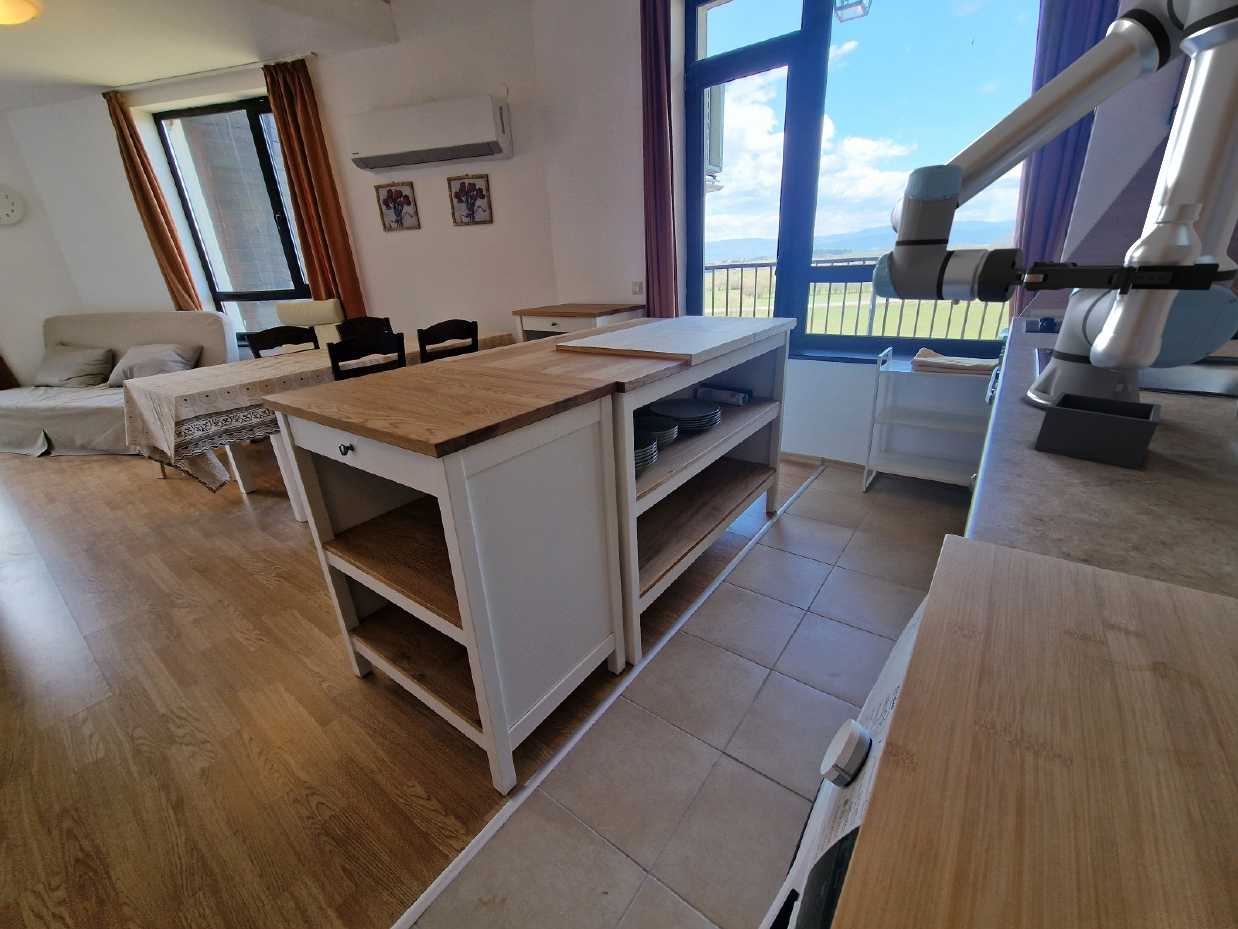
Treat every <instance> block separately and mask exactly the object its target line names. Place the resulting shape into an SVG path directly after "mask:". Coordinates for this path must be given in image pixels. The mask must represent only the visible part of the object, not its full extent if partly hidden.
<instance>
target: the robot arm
mask: <svg viewBox="0 0 1238 929" xmlns="http://www.w3.org/2000/svg"><path fill="white" fill-rule="evenodd" d="M1184 54H1186V55H1188V56H1189V57H1190V59H1191V61H1190V64H1189V68H1188V70H1187V74H1186V78H1185V81H1184V86H1183V89H1182V92H1181V96H1180V100H1179V102H1178V106H1177V110H1176V114H1175V116H1174V121H1173V124H1172V128H1171V131H1170V134H1169V139H1168V142H1167V146H1166V148H1165V152H1164V155H1163V160H1162V163H1161V166H1160V170H1159V174H1158V176H1157V180H1156V184H1155V188H1154V190H1153V195H1152V198H1151V202H1150V206H1149V208H1148V212H1147V216H1146V219H1145V221H1144V222H1145V223H1144V225H1143V229H1142V233H1141V237H1142V236H1144V235H1145V234H1146V233H1147V232H1149V231H1150V230H1151V229H1152V228H1153V226H1154V225H1155V222H1152V220H1153V219H1154V218H1155V215H1156V212H1157V209H1158V208H1159V206H1165V205H1178V204H1197V203H1203V204H1202V208H1201V211H1200V213H1199V219H1198V220H1195V221H1194V222H1193V228H1194V230H1195V231H1196V233H1197V235H1198V236H1199V239H1200V241H1201V244H1202V249H1201V254H1200V256H1199V258H1198V260H1196V262H1195V265H1166V266H1139V267H1138V270H1137V267H1134V266H1128V267H1125V266H1124V264H1084V265H1083V264H1081V265H1079V264H1077V263H1076V262H1074V261H1068V262H1067V261H1066V262H1062V261H1061V262H1060V261H1059V262H1054V261H1053V260H1037V261H1033V263H1032V264H1033V265H1032V266H1024V265H1023V263H1024V260H1025V252H1024V250H1023V249H1022V248H1020V247H1013V248H1011V247H1010V248H994V249H993V250H991V251H989V250H988V249H987V248H965V249H962V248H961V249H952V250H948V245H949V242H950V235H951V231H952V227H953V222H954V218H955V215H956V214H955V213H956V210H958V209H959V208H961V207H962V206H963V205H965V204H966V203H968V201H970V200H971V199H973V198H974V197H976V196H977V195H978V194H980V193H981V192H983V191H984V190H985V189H987V188H988V187H989V186H991V185H992V184H993V183H995V182H996V181H997V180H998V179H1000V178H1001V177H1002V176H1004V175H1006V174H1007V173H1008V172H1010V171H1011V170H1013V169H1014V168H1015V167H1017V166H1019V164H1021V163H1022V162H1023V161H1025V160H1026V159H1028V158H1029V157H1030V156H1032V155H1033V154H1035V153H1036V152H1037V151H1039V150H1040V149H1041V148H1043V147H1045V145H1047V144H1048V143H1050V142H1051V141H1052V140H1054V139H1055V138H1056V137H1058V136H1059V135H1060V134H1062V133H1063V132H1064V131H1066V130H1067V129H1069V128H1070V127H1071V126H1073V125H1074V124H1076V123H1077V122H1079V120H1081V119H1082V118H1084V117H1085V116H1086V115H1088V114H1089V113H1091V112H1092V111H1093V110H1095V109H1096V108H1098V107H1099V106H1101V105H1102V104H1103V103H1104V102H1106V101H1107V100H1108V99H1110V98H1111V97H1112V96H1114V95H1115V94H1116V93H1118V92H1120V91H1121V90H1122V89H1124V88H1125V87H1127V86H1128V85H1129V84H1130V83H1132V82H1133V81H1136V80H1146V79H1148V78H1151V76H1153V75H1154V74H1155V73H1157V72H1158V71H1160V70H1161V69H1162V68H1164V67H1165V66H1166V65H1168V64H1170V63H1171V62H1173V61H1174V60H1176V59H1178V58H1179V57H1181V56H1182V55H1184ZM1237 222H1238V0H1138V1H1137V2H1136V3H1135V4H1134V5H1133V6H1132V7H1130V9H1128V10H1127V11H1126V12H1125V13H1123V14H1122V15H1120V16H1119V17H1118V18H1117V19H1115V20H1114V21H1113V22H1112V23H1111V24H1110V25H1109V27H1108V29H1107V31H1106V35H1105V37H1104V38H1103V39H1102V40H1100V41H1099V42H1098V43H1097V44H1095V45H1094V46H1093V47H1091V48H1090V49H1089V50H1088V51H1086V52H1085V53H1084V54H1083V55H1081V56H1080V57H1078V59H1076V60H1075V61H1074V62H1073V63H1071V64H1070V65H1069V66H1067V67H1066V68H1065V69H1063V70H1062V71H1061V72H1060V73H1059V74H1057V75H1056V76H1054V78H1052V79H1051V80H1050V81H1049V82H1047V83H1046V84H1044V85H1043V86H1041V88H1040V89H1038V90H1037V91H1036V92H1035V93H1034V94H1032V95H1031V96H1029V97H1028V98H1027V99H1026V100H1024V101H1023V102H1022V103H1021V104H1019V105H1018V106H1017V107H1016V108H1014V109H1013V110H1012V111H1011V112H1009V113H1008V114H1007V115H1005V116H1004V117H1003V118H1002V119H1001V120H999V121H998V122H996V123H995V124H994V125H993V126H992V127H990V128H989V129H987V131H986V132H983V134H981V135H980V136H979V137H978V138H976V139H975V140H974V141H973V142H971V143H970V144H969V145H967V146H966V147H965V148H963V149H962V150H961V151H960V152H959V153H957V154H956V155H955V156H953V158H951V159H950V160H949V161H947V162H946V163H944V164H934V165H928V166H926V165H925V166H921V167H918V168H914V169H912V170H911V171H910V172H909V174H908V175H907V179H906V183H905V186H904V189H903V196H902V197H901V198H900V199H898V200H897V201H896V203H895V205H894V206H893V207H892V209H891V214H890V225H891V228H892V230H893V231H894V232H895V234H896V239H895V243H894V247H893V250H890V251H887V252H884V253H882V254H881V255H880V256H879V258H878V259H877V261H876V263H875V268H874V269H873V273H872V279H871V280H872V281H871V282H872V289H873V292H874V293H875V295H876V296H878V297H879V298H884V299H894V300H896V299H897V300H900V301H901V300H903V301H906V300H908V301H952V305H953V306H958V305H959V304H960V303H961V302H974V301H975V300H978V301H980V302H982V303H1000V304H1001V303H1002V304H1003V303H1007V302H1008V301H1010V300H1011V299H1012V297H1013V296H1014V294H1015V293H1016V290H1017V289H1016V288H1017V286H1021V288H1023V289H1025V291H1026V292H1041V291H1062V290H1065V289H1073V290H1072V292H1071V293H1070V295H1069V301H1068V304H1067V306H1066V311H1065V314H1064V317H1063V320H1062V324H1061V325H1060V326H1061V327H1060V330H1059V333H1058V336H1057V339H1056V342H1055V346H1054V349H1053V352H1052V356H1051V358H1050V361H1049V362H1048V364H1047V365H1046V366H1045V367H1044V369H1043V370H1042V372H1041V373H1040V374H1039V376H1038V377H1037V379H1036V380H1034V382H1033V383H1032V385H1031V386H1030V387H1029V389H1028V390H1027V394H1026V397H1025V401H1026V402H1027V403H1028V404H1030V405H1032V406H1034V407H1038V408H1039V409H1040V408H1041V409H1044V410H1047V408H1048V406H1049V405H1050V404H1051V403H1052V401H1053V400H1054V399H1055V398H1056V397H1057V396H1058V395H1059V393H1060V392H1064V393H1072V394H1080V395H1088V396H1096V397H1103V398H1111V399H1119V400H1127V401H1135V402H1141V398H1140V397H1141V396H1140V378H1139V376H1140V375H1139V370H1131V371H1112V370H1109V369H1105V368H1102V367H1098V366H1095V365H1093V364H1092V363H1091V360H1090V353H1091V348H1092V346H1093V344H1094V342H1095V340H1096V339H1097V337H1098V336H1099V334H1100V333H1101V332H1102V329H1103V327H1104V325H1105V323H1106V321H1107V319H1108V317H1109V315H1110V313H1111V311H1112V308H1113V306H1114V302H1115V300H1116V299H1117V293H1118V289H1120V291H1119V294H1118V295H1127V294H1128V292H1129V289H1130V286H1131V284H1132V287H1131V289H1151V290H1179V292H1178V295H1177V297H1175V299H1174V303H1173V305H1172V307H1171V309H1170V312H1169V315H1168V319H1167V322H1166V325H1165V328H1164V332H1163V334H1162V337H1163V338H1162V345H1161V349H1160V353H1159V355H1158V356H1157V358H1156V359H1155V361H1154V362H1153V364H1152V365H1150V366H1149V367H1148V368H1150V369H1173V368H1178V367H1183V366H1184V367H1185V366H1187V365H1190V364H1192V363H1196V362H1198V361H1199V362H1200V361H1201V360H1202V359H1204V358H1206V357H1208V356H1210V355H1212V354H1214V353H1215V352H1217V351H1218V350H1221V348H1222V347H1224V346H1225V345H1226V344H1227V343H1228V342H1229V341H1230V340H1232V338H1233V337H1234V335H1235V334H1236V332H1238V296H1237V295H1236V294H1235V293H1234V292H1233V290H1231V288H1232V286H1233V283H1234V280H1235V278H1236V275H1237V271H1238V264H1237V262H1235V261H1234V260H1233V259H1231V258H1230V257H1229V256H1228V252H1227V250H1228V247H1229V244H1230V242H1231V238H1232V236H1233V234H1234V231H1235V227H1236V224H1237ZM1136 270H1137V271H1136Z"/></svg>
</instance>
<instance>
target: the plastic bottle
mask: <svg viewBox="0 0 1238 929" xmlns="http://www.w3.org/2000/svg"><path fill="white" fill-rule="evenodd" d="M1202 204H1203V203H1197V204H1178V205H1165V206H1159V208H1158V209H1157V212H1156V215H1155V218H1154V219H1153V220H1152V222H1155V225H1154V226H1153V228H1152V229H1151V230H1150V231H1149V232H1147V233H1146V234H1145V235H1144V236H1142V235H1141V237H1140V238H1139V239H1138V240H1136V242H1134V243H1133V244H1132V246H1131V247H1130V248H1129V249H1128V251H1127V252H1126V254H1125V257H1124V263H1123V265H1124V266H1125V267H1128V266H1134V267H1137V270H1138V267H1139V266H1166V265H1195V262H1196V260H1198V258H1199V256H1200V254H1201V249H1202V244H1201V241H1200V239H1199V236H1198V235H1197V233H1196V231H1195V230H1194V228H1193V222H1194V221H1195V220H1198V219H1199V213H1200V211H1201V208H1202ZM1137 270H1136V271H1137ZM1131 287H1132V284H1131V286H1130V289H1129V292H1128V294H1127V295H1118V294H1119V291H1120V289H1118V293H1117V299H1116V300H1115V302H1114V306H1113V308H1112V311H1111V313H1110V315H1109V317H1108V319H1107V321H1106V323H1105V325H1104V327H1103V329H1102V332H1101V333H1100V334H1099V336H1098V337H1097V339H1096V340H1095V342H1094V344H1093V346H1092V348H1091V353H1090V360H1091V363H1092V364H1093V365H1095V366H1098V367H1102V368H1105V369H1109V370H1112V371H1131V370H1138V371H1143V370H1146V369H1147V368H1150V367H1149V366H1150V365H1152V364H1153V362H1154V361H1155V359H1156V358H1157V356H1158V355H1159V353H1160V349H1161V345H1162V338H1163V337H1162V334H1163V332H1164V328H1165V325H1166V322H1167V319H1168V315H1169V312H1170V309H1171V307H1172V305H1173V303H1174V299H1175V297H1177V295H1178V292H1179V290H1151V289H1131Z"/></svg>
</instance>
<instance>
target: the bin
mask: <svg viewBox="0 0 1238 929" xmlns="http://www.w3.org/2000/svg"><path fill="white" fill-rule="evenodd" d="M1161 410H1162V404H1157V403H1150V402H1142V401H1140V402H1135V401H1127V400H1119V399H1111V398H1103V397H1096V396H1088V395H1080V394H1072V393H1064V392H1060V393H1059V395H1058V396H1057V397H1056V398H1055V399H1054V400H1053V401H1052V403H1051V404H1050V405H1049V406H1048V408H1047V409H1046V411H1045V414H1044V417H1043V421H1042V423H1041V425H1040V429H1039V432H1038V435H1037V438H1036V442H1035V444H1034V447H1033V450H1036V451H1037V450H1038V451H1041V452H1042V451H1043V452H1048V453H1053V454H1056V455H1057V454H1058V455H1062V456H1067V457H1073V458H1078V459H1083V460H1089V461H1093V462H1097V463H1103V464H1108V465H1113V466H1119V467H1124V468H1129V469H1135V470H1139V468H1140V466H1141V465H1142V462H1143V460H1144V457H1145V454H1146V453H1147V450H1148V448H1149V445H1150V443H1151V441H1152V438H1153V436H1154V434H1155V431H1156V429H1157V427H1158V424H1159V421H1160V416H1161V415H1160V414H1161Z"/></svg>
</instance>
